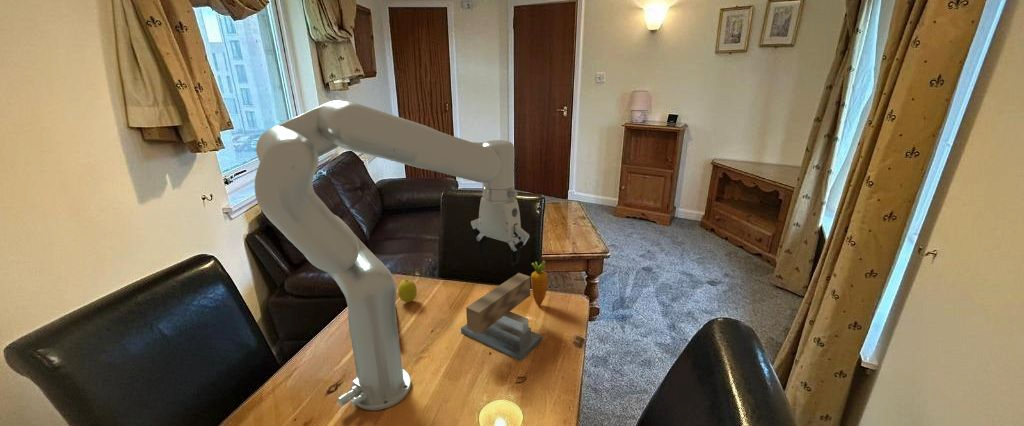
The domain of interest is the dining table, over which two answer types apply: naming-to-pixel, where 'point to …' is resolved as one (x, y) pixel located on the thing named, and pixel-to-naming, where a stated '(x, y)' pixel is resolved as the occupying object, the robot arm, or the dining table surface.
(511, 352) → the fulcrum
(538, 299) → the carrot
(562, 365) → the dining table surface
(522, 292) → the walnut beam
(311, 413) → the dining table surface
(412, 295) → the lemon
